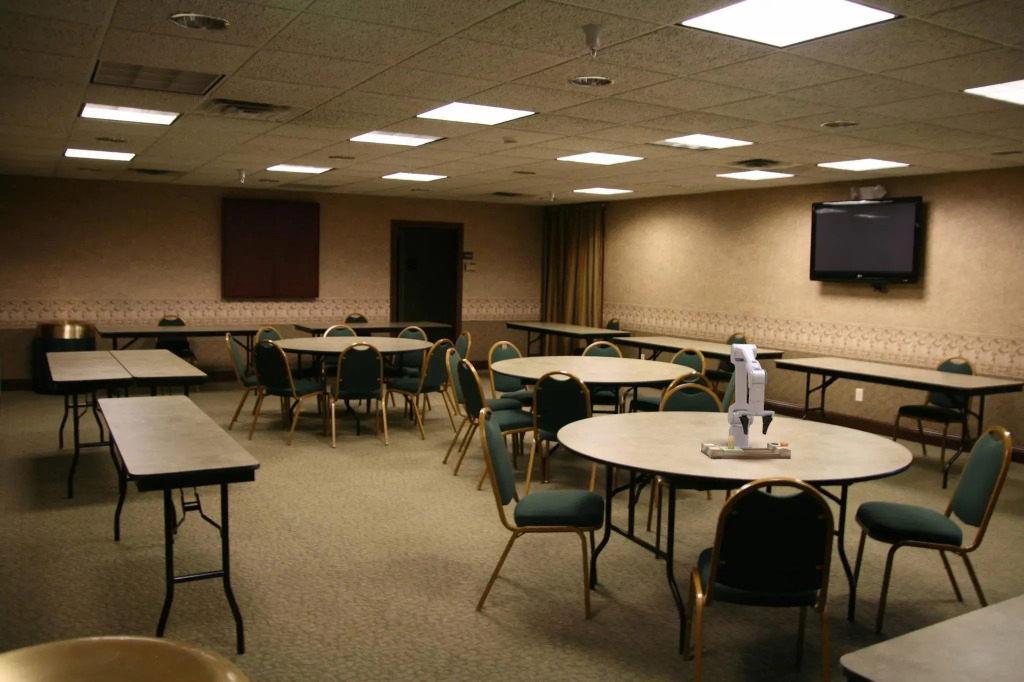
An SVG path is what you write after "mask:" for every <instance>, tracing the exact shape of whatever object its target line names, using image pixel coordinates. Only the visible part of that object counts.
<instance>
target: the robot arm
mask: <svg viewBox="0 0 1024 682" xmlns="http://www.w3.org/2000/svg"><path fill="white" fill-rule="evenodd" d="M757 353H758V348H757V346H756V344H755V343H751V344H749V343H748V344H747V343H746V344H745V343H742V344H741V343H732V344H731V347H730V363H732V364H733V365H734V370H735V376H734V379H735V382H734V383H735V386H734V388H735V390H734V392H735V394H734V395H735V396H734V402H733V403H732V404H731V405H729V407H728V413H727V422H728V424H729V425H730V426H729V428H728V436H735V438H734V447H739V448H753V447H752V446H751V445H749V435H750V428H751V426H752V425H753V424H754V418H755V417H761V419H762V427H761V428H762V430H761V432H762V435H763V436H764V435H765V436H767V432H768V430H769V427H770V425H771V424H772V422H773V420H774V419H773V418H774V417H775V413H776V412H775V411H773V410H765V409H764V408H765V407H764V406H765V389H766V387H765V386H766V385H767V383H768V373H767V370H766V369H763V368H762V367H761V364H760V362H759V360H757V359H756V358H757ZM747 383H748V384H747ZM747 386H748V388H749V389H748V394H747ZM748 395H749V397H748V398H747V396H748ZM747 399H748V400H747ZM747 401H748V402H747ZM725 444H726V445H728V441H727V442H725Z"/></svg>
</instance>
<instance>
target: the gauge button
mask: <svg viewBox="0 0 1024 682" xmlns="http://www.w3.org/2000/svg"><path fill="white" fill-rule="evenodd" d="M779 444H780V446H784V447H786V448H788V447H789V442H786V441H780V443H779Z"/></svg>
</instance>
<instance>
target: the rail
mask: <svg viewBox="0 0 1024 682" xmlns="http://www.w3.org/2000/svg"><path fill="white" fill-rule="evenodd" d="M718 447H719V446H717V445H715V444H713V443H712V442H701V447H700V449H701V450H700V451H701V452H702V453H703V454H705V455H706V456H707V457H709V458H711V459H712V460H715V459H718V460H726V459H727V460H730V459H731V460H736V459H737V460H739V459H740V460H742V459H743V460H744V459H745V460H748V459H749V460H751V459H752V460H753V459H754V460H766V459H771V460H772V459H773V460H774V459H775V460H776V459H777V460H778V459H779V460H784V459H785V460H790V459H791V458H792V450H791V449H789V448H788V447H784V446H780V443H777V442H767V443H766V447H752V448H741V449H742V450H744V453H727V454H724V453H723V450H722V449H720V448H718Z"/></svg>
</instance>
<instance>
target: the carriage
mask: <svg viewBox="0 0 1024 682" xmlns="http://www.w3.org/2000/svg"><path fill="white" fill-rule="evenodd" d="M734 438H735V436H729V435H728V438H727V439H728V440H727V442H728V444H727V446H717V447H718V448H720V449H722V450H723V453H724V454H727V453H744V450H742V449H741V448H739V447H734Z"/></svg>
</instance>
